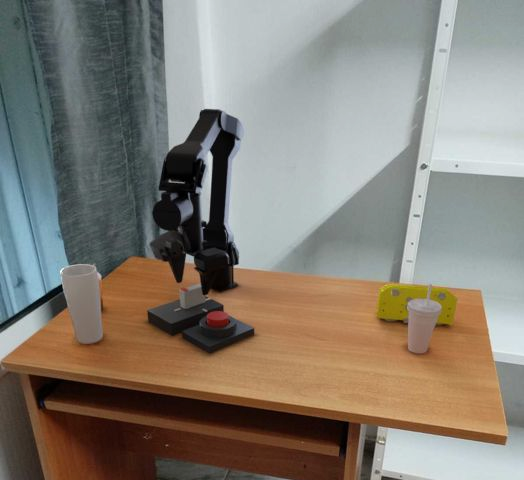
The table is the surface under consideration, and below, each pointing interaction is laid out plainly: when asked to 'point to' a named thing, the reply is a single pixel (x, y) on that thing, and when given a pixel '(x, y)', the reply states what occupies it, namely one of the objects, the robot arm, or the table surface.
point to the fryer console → (181, 315)
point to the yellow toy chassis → (398, 296)
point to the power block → (217, 335)
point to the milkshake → (100, 289)
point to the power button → (217, 319)
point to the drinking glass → (83, 301)
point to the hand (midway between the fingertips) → (191, 288)
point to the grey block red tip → (191, 296)
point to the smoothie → (421, 322)
